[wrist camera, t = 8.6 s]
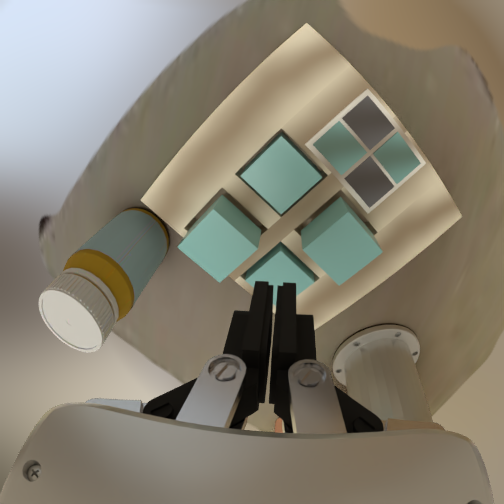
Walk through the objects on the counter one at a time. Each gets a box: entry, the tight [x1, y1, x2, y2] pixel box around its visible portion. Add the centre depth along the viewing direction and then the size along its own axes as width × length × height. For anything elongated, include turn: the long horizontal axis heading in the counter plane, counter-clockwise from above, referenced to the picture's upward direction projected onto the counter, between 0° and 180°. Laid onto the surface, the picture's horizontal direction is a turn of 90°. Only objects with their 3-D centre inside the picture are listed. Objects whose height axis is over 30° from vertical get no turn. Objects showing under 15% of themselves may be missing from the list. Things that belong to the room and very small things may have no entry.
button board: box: [141, 23, 462, 330], centre depth 27 cm, size 22×21×4 cm
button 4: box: [178, 195, 261, 282], centre depth 25 cm, size 5×5×4 cm
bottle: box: [39, 208, 169, 352], centre depth 26 cm, size 7×7×15 cm
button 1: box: [301, 197, 383, 286], centre depth 24 cm, size 5×5×4 cm
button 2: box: [245, 241, 315, 306], centre depth 30 cm, size 5×5×4 cm
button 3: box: [241, 132, 322, 214], centre depth 25 cm, size 5×5×4 cm
